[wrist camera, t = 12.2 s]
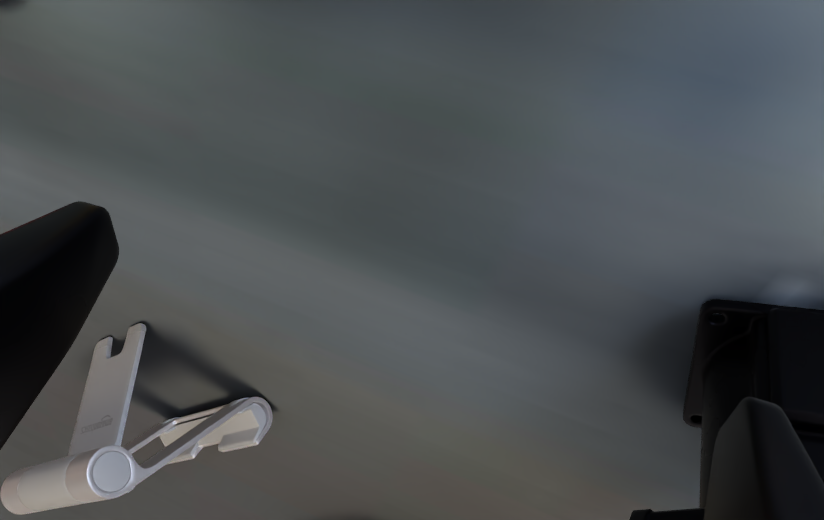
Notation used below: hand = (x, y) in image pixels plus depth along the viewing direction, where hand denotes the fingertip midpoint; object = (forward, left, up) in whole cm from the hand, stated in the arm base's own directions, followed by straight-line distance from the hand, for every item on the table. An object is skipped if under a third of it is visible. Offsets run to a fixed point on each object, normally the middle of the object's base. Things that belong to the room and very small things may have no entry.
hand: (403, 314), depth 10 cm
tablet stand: (-21, +20, -12) cm, 31 cm away
